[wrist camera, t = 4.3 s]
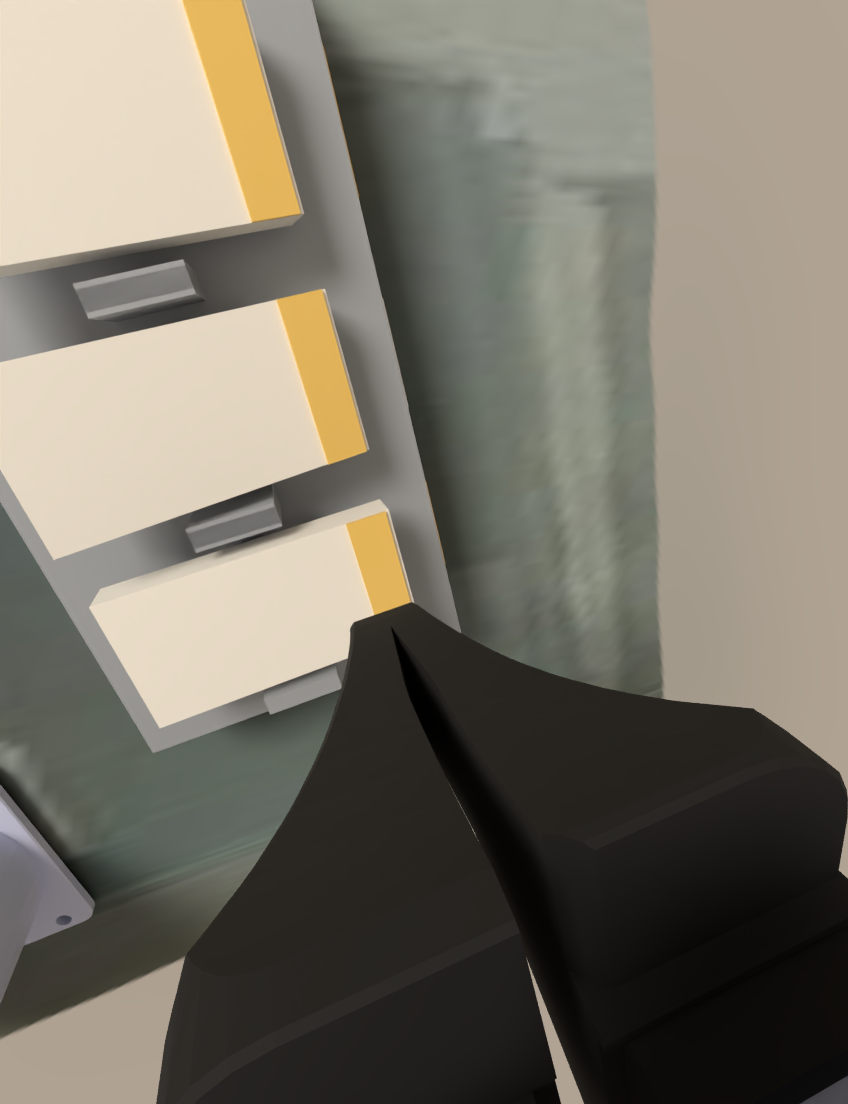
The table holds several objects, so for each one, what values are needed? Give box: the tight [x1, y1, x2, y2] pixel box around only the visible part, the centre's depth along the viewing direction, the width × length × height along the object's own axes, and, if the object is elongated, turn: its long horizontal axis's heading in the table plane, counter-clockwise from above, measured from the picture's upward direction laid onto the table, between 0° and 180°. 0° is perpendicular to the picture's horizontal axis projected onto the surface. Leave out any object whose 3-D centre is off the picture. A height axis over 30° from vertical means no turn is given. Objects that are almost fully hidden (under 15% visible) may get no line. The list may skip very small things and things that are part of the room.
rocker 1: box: [0, 0, 304, 277], centre depth 9 cm, size 7×4×1 cm, turn 105°
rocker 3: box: [89, 499, 414, 728], centre depth 13 cm, size 7×4×1 cm, turn 104°
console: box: [0, 0, 461, 753], centre depth 13 cm, size 10×18×5 cm, turn 14°
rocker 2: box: [0, 289, 369, 560], centre depth 11 cm, size 7×4×1 cm, turn 105°
